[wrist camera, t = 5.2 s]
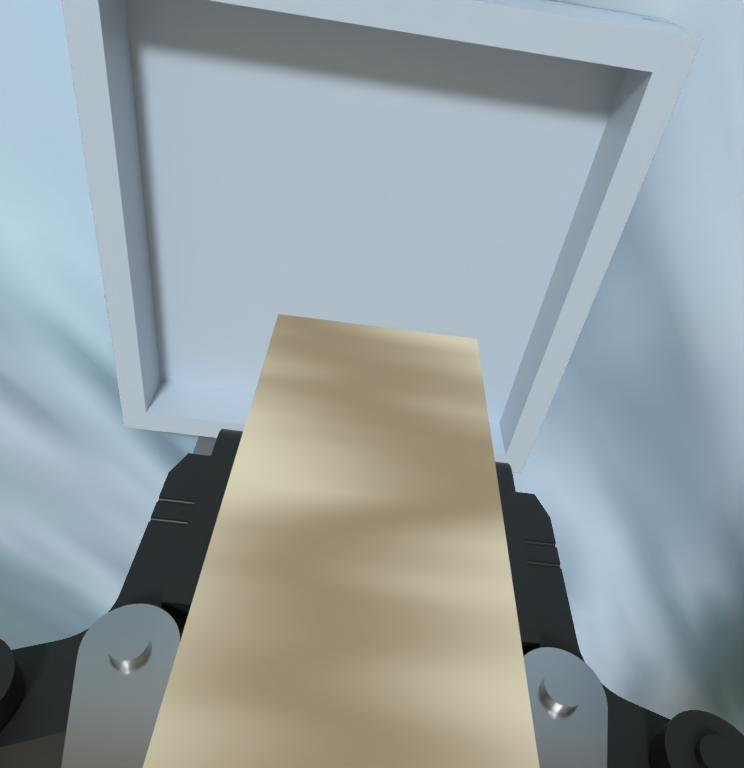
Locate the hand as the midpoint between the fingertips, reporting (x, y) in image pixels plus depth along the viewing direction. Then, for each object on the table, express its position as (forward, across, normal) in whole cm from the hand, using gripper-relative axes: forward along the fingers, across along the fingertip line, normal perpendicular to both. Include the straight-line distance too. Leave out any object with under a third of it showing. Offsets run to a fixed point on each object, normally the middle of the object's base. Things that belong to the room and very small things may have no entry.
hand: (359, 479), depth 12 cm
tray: (+10, +1, 0) cm, 10 cm away
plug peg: (+2, 0, 0) cm, 2 cm away
